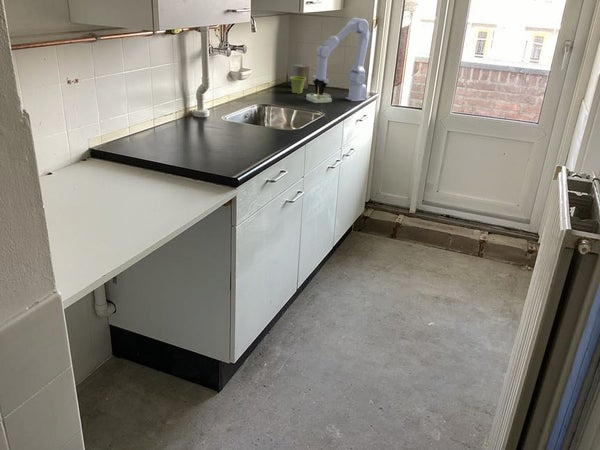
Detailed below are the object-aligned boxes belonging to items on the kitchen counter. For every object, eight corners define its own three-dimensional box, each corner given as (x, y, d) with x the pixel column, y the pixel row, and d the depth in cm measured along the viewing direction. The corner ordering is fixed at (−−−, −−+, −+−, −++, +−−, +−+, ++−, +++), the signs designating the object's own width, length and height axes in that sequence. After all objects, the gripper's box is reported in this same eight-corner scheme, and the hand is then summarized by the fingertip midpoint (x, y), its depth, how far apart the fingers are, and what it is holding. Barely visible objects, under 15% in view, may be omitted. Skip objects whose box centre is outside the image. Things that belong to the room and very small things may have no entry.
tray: (323, 98, 305) (323, 95, 304) (331, 102, 298) (331, 98, 297) (306, 99, 300) (306, 96, 299) (314, 103, 293) (314, 99, 292)
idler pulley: (314, 95, 311) (314, 92, 310) (320, 98, 305) (320, 94, 305) (303, 96, 308) (304, 92, 307) (309, 98, 302) (310, 95, 301)
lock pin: (319, 97, 300) (320, 85, 297) (322, 99, 298) (324, 86, 295) (315, 98, 299) (316, 85, 295) (318, 99, 297) (319, 86, 293)
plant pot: (306, 94, 313) (307, 79, 309) (291, 94, 310) (291, 79, 307) (302, 91, 321) (303, 76, 317) (287, 91, 318) (288, 76, 315)
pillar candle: (310, 87, 331) (312, 63, 325) (303, 90, 324) (304, 64, 317) (297, 85, 336) (298, 61, 329) (289, 87, 328) (290, 62, 322)
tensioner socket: (325, 95, 313) (325, 93, 312) (330, 97, 308) (330, 95, 307) (316, 96, 310) (316, 93, 309) (321, 98, 305) (321, 95, 305)
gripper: (308, 66, 295) (306, 91, 301) (321, 71, 284) (319, 97, 290) (319, 66, 298) (317, 91, 304) (332, 71, 287) (330, 96, 293)
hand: (319, 93), depth 297 cm, fingers closed on lock pin, 3 cm apart
